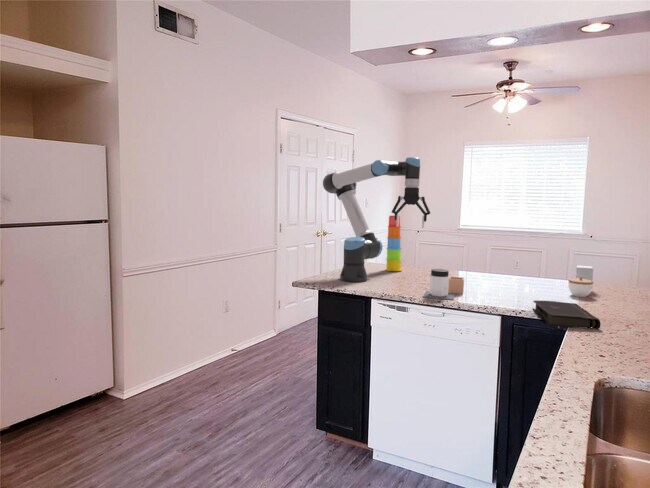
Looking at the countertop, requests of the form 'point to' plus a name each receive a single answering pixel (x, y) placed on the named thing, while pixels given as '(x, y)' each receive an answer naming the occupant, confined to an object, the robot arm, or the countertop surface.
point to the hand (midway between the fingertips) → (410, 227)
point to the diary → (564, 314)
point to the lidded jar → (580, 286)
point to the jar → (439, 282)
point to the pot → (456, 285)
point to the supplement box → (584, 272)
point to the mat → (428, 295)
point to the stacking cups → (393, 246)
